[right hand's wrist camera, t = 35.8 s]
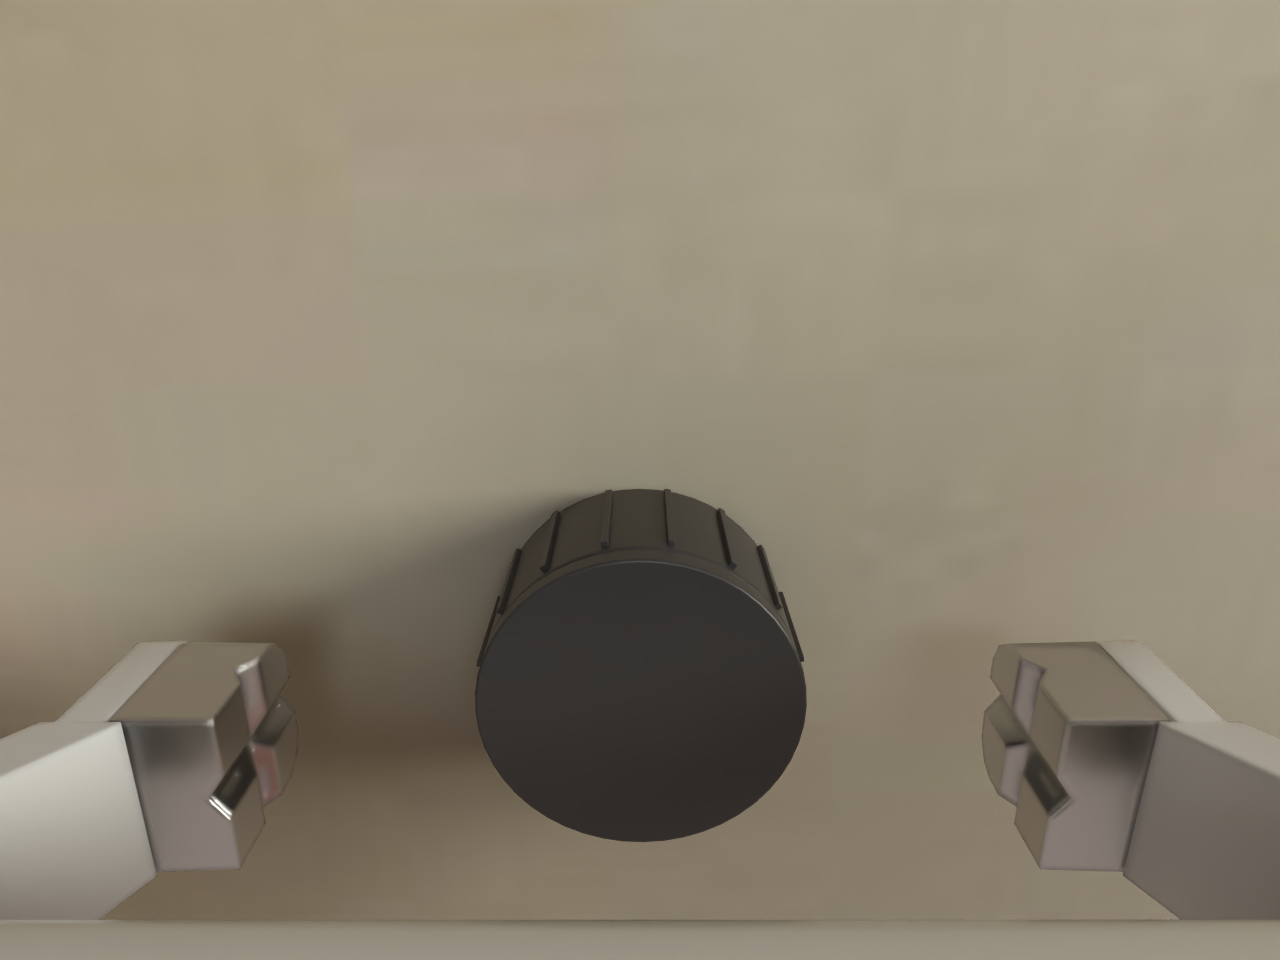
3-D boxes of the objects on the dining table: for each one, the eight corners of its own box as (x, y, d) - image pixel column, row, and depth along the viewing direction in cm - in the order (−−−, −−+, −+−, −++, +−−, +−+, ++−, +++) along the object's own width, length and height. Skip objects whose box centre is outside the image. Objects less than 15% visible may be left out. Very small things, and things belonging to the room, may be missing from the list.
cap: (510, 736, 13) (484, 846, 11) (490, 487, 12) (457, 561, 10) (775, 732, 13) (802, 843, 11) (786, 483, 12) (819, 554, 10)
